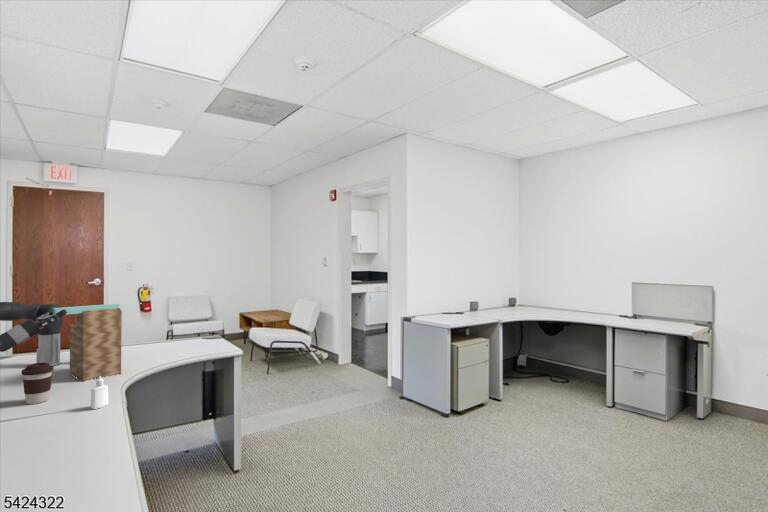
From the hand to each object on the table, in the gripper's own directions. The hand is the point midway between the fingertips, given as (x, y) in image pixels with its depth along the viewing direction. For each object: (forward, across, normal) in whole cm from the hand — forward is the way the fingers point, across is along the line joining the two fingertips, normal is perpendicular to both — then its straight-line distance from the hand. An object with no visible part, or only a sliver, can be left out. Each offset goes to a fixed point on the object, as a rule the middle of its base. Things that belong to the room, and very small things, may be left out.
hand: (63, 310), depth 191 cm
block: (+7, 0, +6) cm, 10 cm away
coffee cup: (-29, -23, +22) cm, 44 cm away
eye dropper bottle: (-18, -51, +29) cm, 61 cm away
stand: (-4, +5, +37) cm, 37 cm away
